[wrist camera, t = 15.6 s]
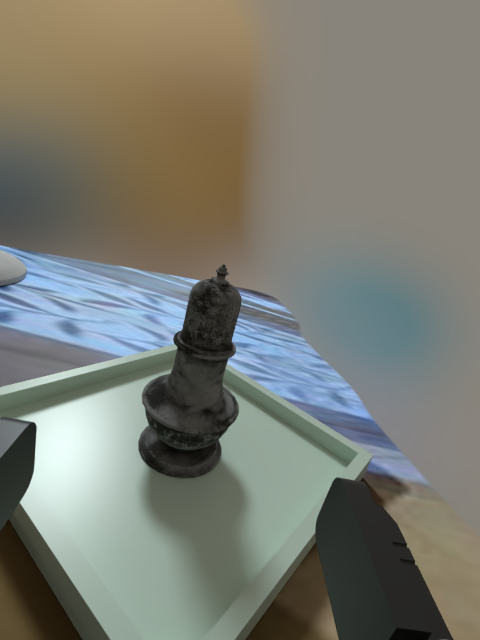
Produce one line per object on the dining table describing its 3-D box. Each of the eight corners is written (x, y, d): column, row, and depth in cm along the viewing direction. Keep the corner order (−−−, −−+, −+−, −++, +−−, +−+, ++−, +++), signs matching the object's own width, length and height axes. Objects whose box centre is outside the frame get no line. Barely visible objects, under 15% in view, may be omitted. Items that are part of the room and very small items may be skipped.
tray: (157, 761, 11) (168, 727, 10) (-48, 428, 21) (-49, 399, 20) (362, 476, 26) (373, 455, 25) (186, 358, 35) (190, 340, 35)
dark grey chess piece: (243, 451, 24) (297, 279, 20) (181, 500, 19) (235, 288, 15) (180, 406, 27) (216, 248, 23) (112, 439, 22) (142, 247, 18)
